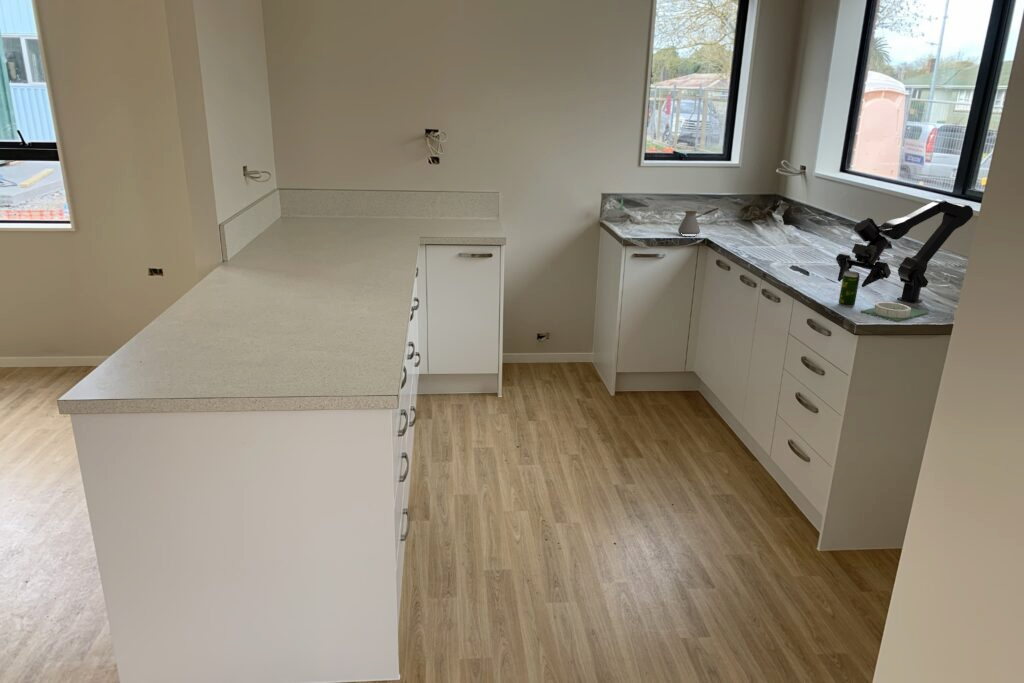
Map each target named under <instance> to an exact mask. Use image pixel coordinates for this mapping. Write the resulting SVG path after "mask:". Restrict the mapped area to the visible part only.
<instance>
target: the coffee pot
mask: <svg viewBox="0 0 1024 683" xmlns="http://www.w3.org/2000/svg"><path fill="white" fill-rule="evenodd" d="M715 211H718V212H720V208H719V207H715V208H712V209H709V210H707V211H706V212H704V213H701V214H698V215H697V213H698V211H695V210H684V213H685V216H684V217H683V220H682V221H681V223H680V226H678V229H677V230H678V231H677V232H678V234H680V233H682V234H698V235H699V234H701V229H700V227H699V226H700V225H699V224H698V218H700V217H702V216H705V215H707V214H711V213H712V212H715Z"/></svg>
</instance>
